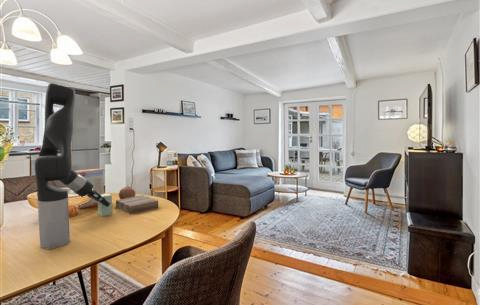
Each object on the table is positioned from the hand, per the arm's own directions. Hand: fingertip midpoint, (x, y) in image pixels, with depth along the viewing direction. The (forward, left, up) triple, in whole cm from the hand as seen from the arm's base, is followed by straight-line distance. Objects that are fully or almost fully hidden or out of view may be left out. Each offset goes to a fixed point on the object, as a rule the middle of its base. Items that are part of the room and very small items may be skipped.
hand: (105, 203), depth 135 cm
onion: (+17, -19, -6) cm, 26 cm away
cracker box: (+23, 0, -6) cm, 24 cm away
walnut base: (0, -17, -5) cm, 18 cm away
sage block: (0, 0, -5) cm, 5 cm away
